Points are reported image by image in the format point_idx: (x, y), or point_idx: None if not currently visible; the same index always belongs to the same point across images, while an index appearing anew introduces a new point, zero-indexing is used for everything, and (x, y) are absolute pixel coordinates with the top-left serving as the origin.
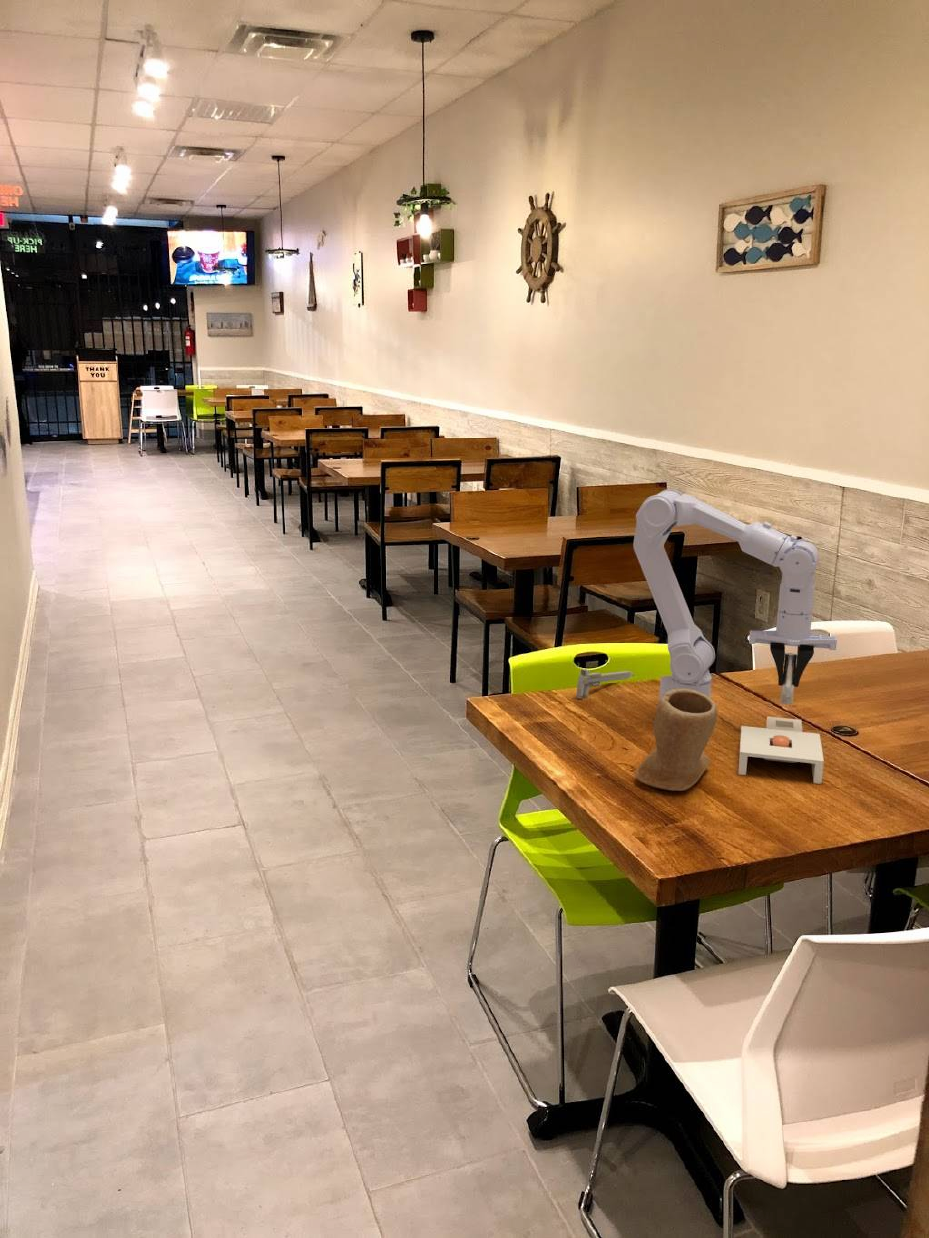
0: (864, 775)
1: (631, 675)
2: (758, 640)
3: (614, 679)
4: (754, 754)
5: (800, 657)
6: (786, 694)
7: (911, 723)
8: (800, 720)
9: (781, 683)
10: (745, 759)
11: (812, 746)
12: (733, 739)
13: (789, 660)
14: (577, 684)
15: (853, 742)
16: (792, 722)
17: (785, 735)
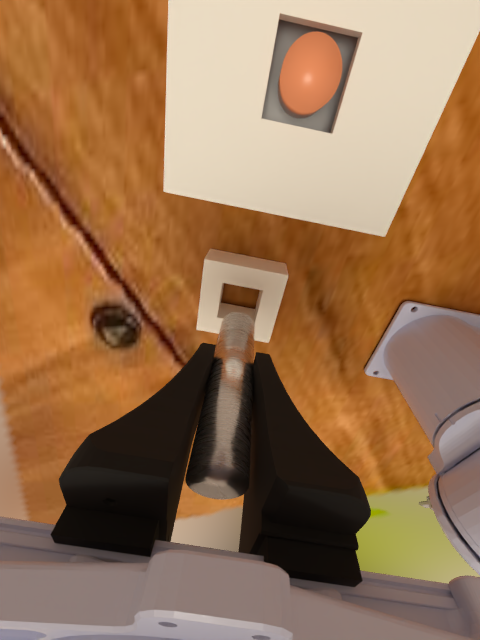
0: (63, 31)
1: (425, 501)
2: (437, 609)
3: None
4: None
5: (170, 438)
6: (241, 330)
7: (4, 363)
8: (198, 326)
9: (262, 357)
10: None
11: (199, 47)
12: (359, 268)
13: (231, 442)
14: None
15: (98, 272)
16: (218, 316)
17: (272, 162)
